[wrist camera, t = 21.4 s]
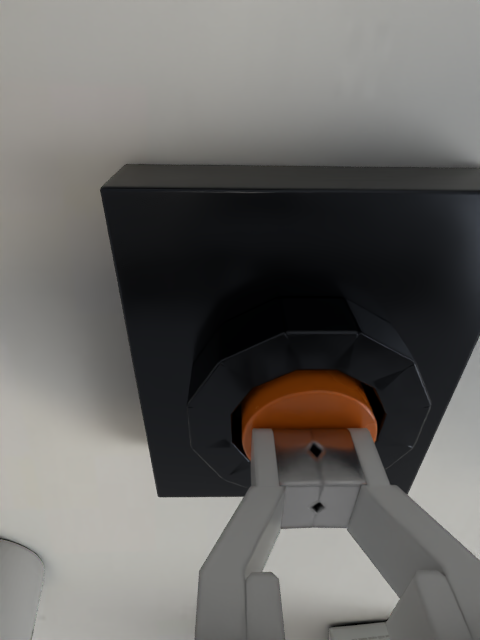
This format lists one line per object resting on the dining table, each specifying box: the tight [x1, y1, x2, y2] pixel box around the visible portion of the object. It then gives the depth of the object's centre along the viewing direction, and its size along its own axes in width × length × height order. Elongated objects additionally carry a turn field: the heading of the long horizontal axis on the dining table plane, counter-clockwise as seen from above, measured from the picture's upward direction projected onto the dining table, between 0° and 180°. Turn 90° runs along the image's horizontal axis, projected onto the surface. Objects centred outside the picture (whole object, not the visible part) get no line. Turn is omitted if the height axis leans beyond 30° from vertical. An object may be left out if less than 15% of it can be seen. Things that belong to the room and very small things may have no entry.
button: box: [241, 370, 377, 461], centre depth 11 cm, size 4×4×2 cm
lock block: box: [100, 164, 480, 497], centre depth 12 cm, size 12×10×4 cm
